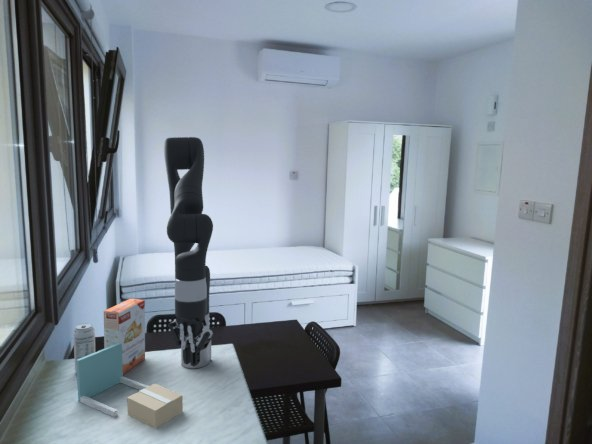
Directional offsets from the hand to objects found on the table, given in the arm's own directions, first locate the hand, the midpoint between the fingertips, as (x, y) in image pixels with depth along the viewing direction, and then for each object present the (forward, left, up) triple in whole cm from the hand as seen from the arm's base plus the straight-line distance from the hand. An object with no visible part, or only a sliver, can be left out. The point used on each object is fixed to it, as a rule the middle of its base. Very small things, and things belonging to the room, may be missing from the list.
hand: (191, 363), depth 107 cm
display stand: (0, -28, -17) cm, 32 cm away
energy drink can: (-5, -50, -17) cm, 53 cm away
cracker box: (-14, -42, -17) cm, 47 cm away
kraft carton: (0, -13, -17) cm, 22 cm away
